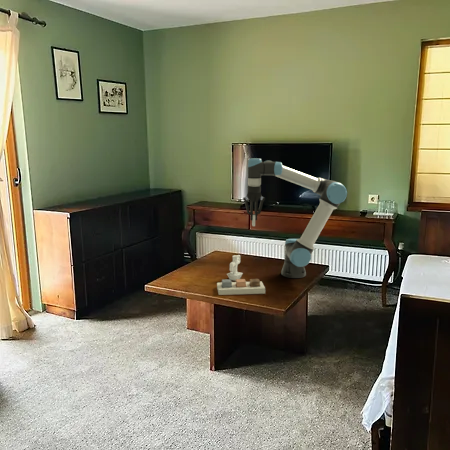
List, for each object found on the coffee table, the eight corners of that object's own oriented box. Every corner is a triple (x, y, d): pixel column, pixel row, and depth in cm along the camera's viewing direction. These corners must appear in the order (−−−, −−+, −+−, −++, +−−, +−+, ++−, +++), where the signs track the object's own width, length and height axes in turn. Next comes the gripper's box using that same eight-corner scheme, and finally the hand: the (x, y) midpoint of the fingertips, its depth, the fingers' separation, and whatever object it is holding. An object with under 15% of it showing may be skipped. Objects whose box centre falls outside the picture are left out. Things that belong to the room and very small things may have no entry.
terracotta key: (244, 285, 254) (244, 279, 253) (245, 288, 249) (245, 281, 248) (235, 285, 253) (235, 279, 253) (236, 288, 249) (236, 282, 248)
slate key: (230, 286, 253) (230, 279, 252) (231, 289, 248) (231, 282, 248) (221, 286, 253) (221, 279, 252) (222, 289, 248) (222, 282, 247)
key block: (261, 286, 259) (261, 281, 258) (265, 293, 247) (265, 288, 246) (217, 287, 256) (217, 282, 256) (218, 294, 245) (218, 289, 244)
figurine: (225, 280, 269) (225, 256, 266) (234, 276, 277) (234, 253, 274) (235, 282, 265) (235, 258, 262) (244, 278, 273) (244, 254, 270)
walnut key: (258, 285, 255) (258, 278, 254) (259, 288, 250) (259, 281, 249) (249, 285, 254) (249, 279, 253) (251, 288, 249) (251, 281, 249)
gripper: (264, 184, 259) (263, 224, 264) (242, 184, 258) (241, 224, 262) (266, 186, 252) (265, 227, 256) (243, 186, 250) (243, 227, 255)
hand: (253, 225), depth 259 cm, fingers closed
